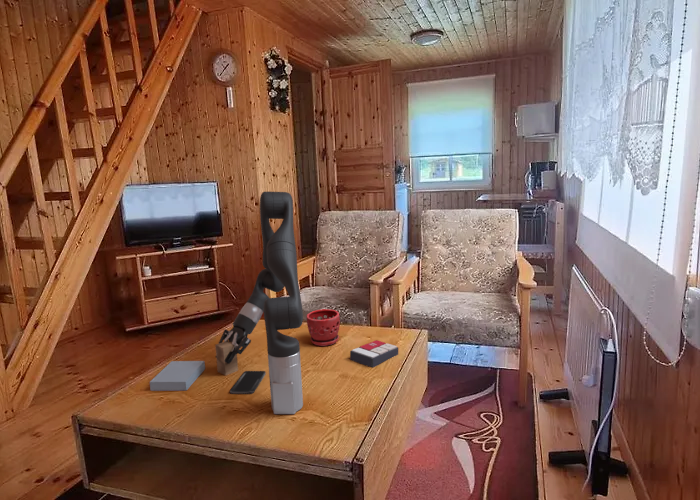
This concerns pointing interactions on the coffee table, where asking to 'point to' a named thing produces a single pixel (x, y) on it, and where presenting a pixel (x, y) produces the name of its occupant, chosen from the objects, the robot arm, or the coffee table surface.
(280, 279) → the robot arm
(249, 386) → the phone
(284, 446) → the coffee table surface
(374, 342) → the calculator
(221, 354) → the walnut block
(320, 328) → the plant pot
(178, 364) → the base board
